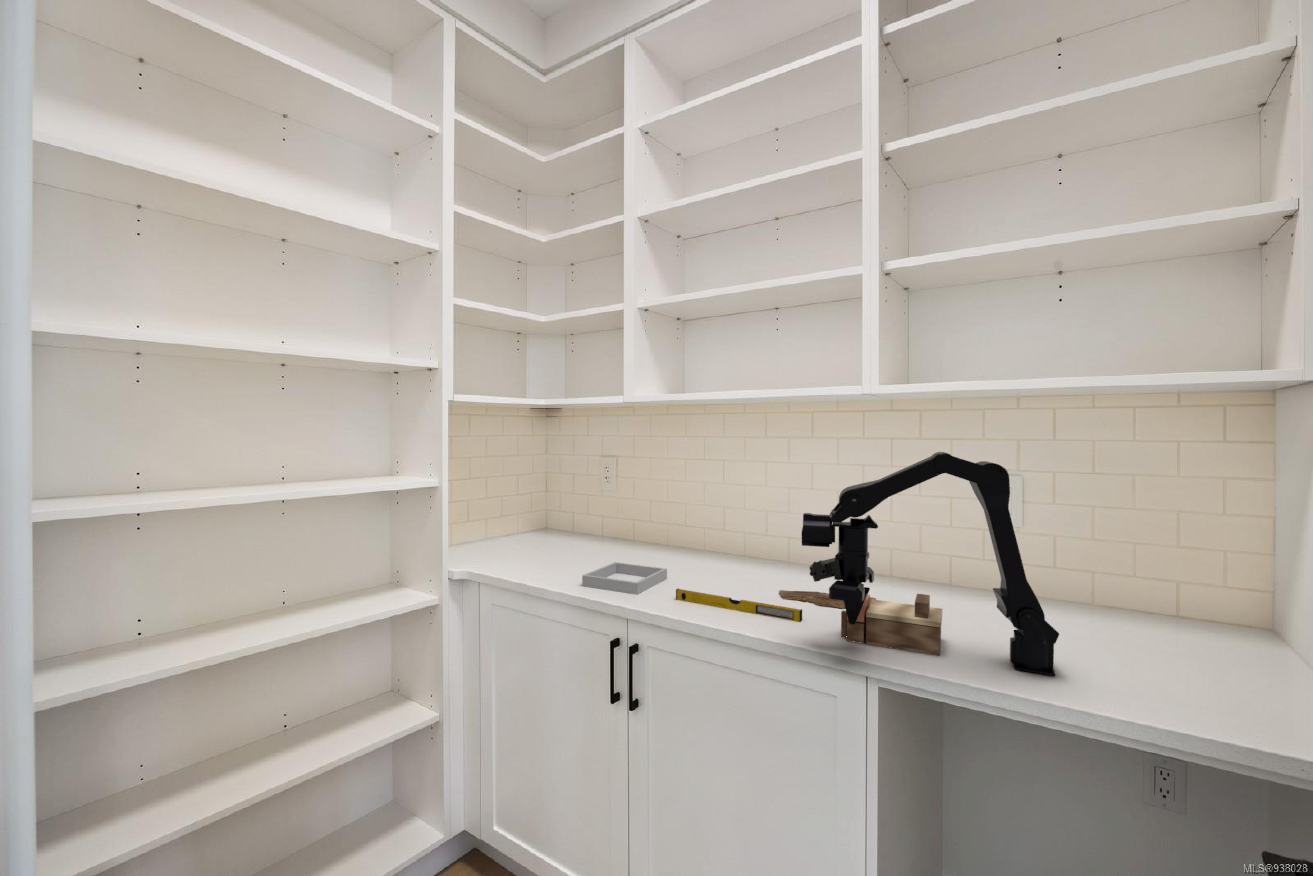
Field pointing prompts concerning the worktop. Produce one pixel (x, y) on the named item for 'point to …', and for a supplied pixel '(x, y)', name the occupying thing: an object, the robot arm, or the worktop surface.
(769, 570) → the worktop surface
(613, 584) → the parts corral
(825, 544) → the robot arm
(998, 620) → the worktop surface
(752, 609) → the spirit level
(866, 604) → the pink rectangular block
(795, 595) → the wooden fragment
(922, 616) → the lid
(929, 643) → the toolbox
